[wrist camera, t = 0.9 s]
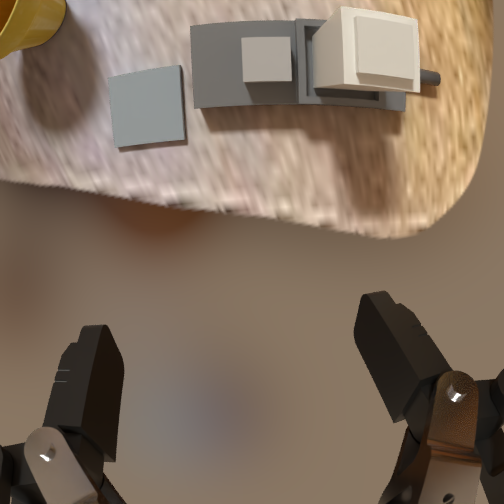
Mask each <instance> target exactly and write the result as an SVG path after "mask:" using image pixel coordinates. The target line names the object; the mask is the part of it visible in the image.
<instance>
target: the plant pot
mask: <svg viewBox="0 0 504 504" xmlns="http://www.w3.org/2000/svg"><path fill="white" fill-rule="evenodd" d="M65 11H66V3H65V0H0V59H2V58H4V57H5V56H7V55H8V54H10V53H11V52H14V51H18V50H22V49H26V48H30V47H35V46H38V45H41V44H43V43H45V42H46V41H48V40H49V39H50V38H51V37H52V36H53V35H54V34H55V33H56V32H57V30H58V29H59V27H60V25H61V23H62V21H63V19H64V16H65Z"/></svg>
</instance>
